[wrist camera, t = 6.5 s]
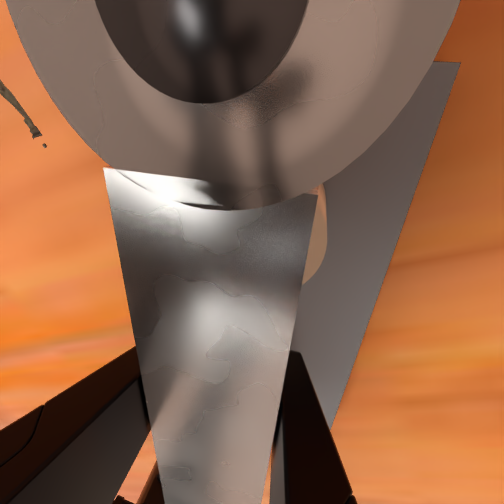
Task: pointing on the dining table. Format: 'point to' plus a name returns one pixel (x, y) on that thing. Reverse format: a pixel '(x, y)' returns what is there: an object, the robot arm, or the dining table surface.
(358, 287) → the tool rack
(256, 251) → the spanner
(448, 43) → the dining table surface
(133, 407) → the robot arm
